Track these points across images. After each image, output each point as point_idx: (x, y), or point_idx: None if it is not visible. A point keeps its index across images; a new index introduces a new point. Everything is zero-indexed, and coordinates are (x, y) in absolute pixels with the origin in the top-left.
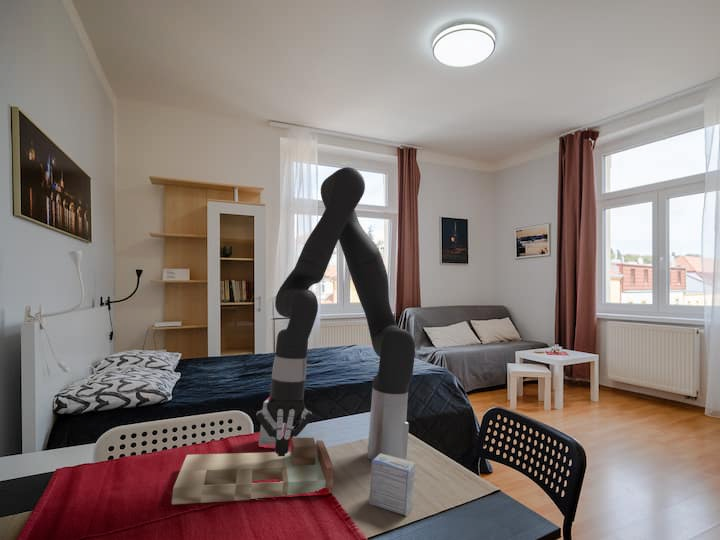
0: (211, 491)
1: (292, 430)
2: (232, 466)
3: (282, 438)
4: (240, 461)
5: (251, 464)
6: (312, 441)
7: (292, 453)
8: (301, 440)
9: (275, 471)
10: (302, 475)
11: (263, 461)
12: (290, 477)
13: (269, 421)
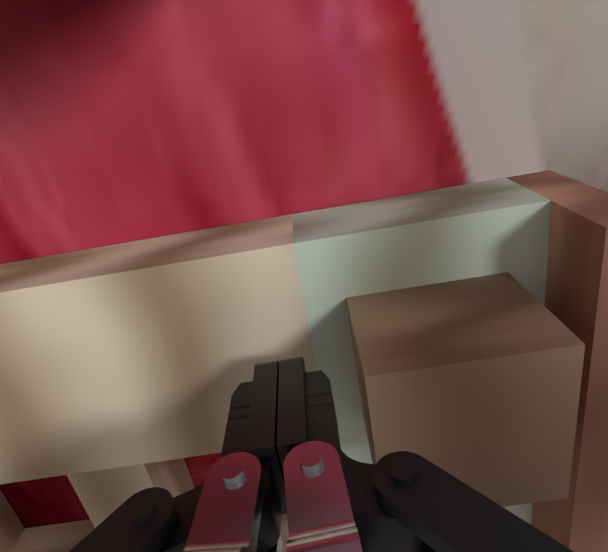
0: None
1: (382, 546)
2: (26, 456)
3: (283, 487)
4: (40, 400)
5: (122, 428)
6: (554, 426)
7: (369, 439)
8: (455, 416)
9: None
10: None
11: (181, 391)
12: None
13: None
